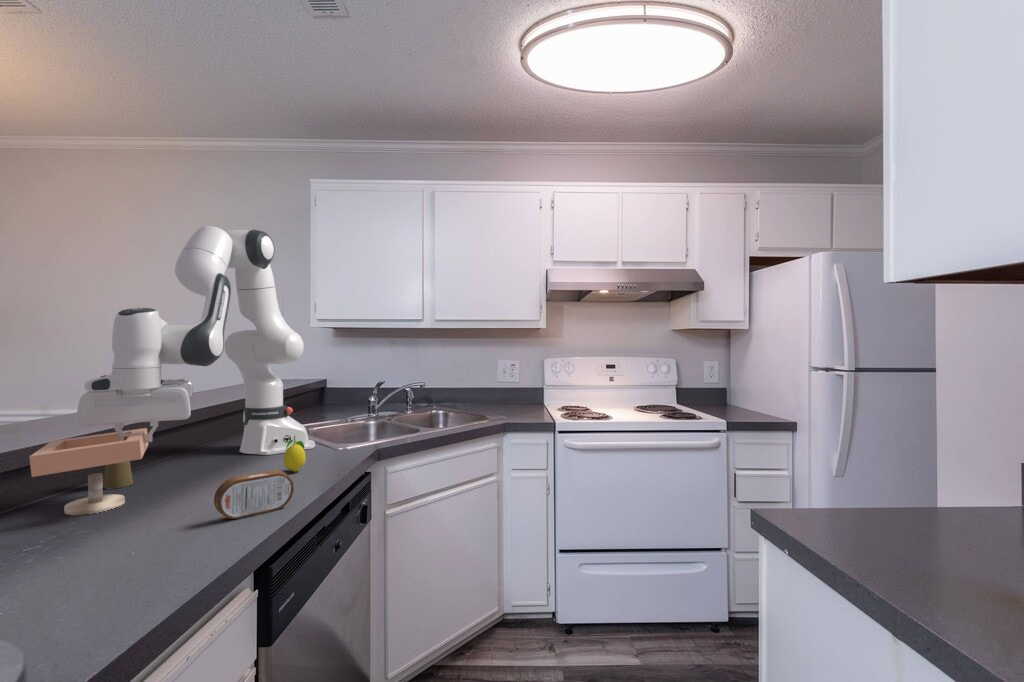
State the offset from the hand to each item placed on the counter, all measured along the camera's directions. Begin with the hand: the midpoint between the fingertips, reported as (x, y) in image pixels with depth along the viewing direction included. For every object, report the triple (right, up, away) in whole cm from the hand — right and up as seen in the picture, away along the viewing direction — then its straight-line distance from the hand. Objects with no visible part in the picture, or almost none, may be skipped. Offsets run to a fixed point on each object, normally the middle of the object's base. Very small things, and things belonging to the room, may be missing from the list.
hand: (136, 442), depth 111 cm
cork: (-13, -13, +12) cm, 22 cm away
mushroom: (-6, -13, -4) cm, 15 cm away
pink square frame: (-6, -3, -4) cm, 8 cm away
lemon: (+24, -13, +25) cm, 37 cm away
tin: (+30, -14, -7) cm, 34 cm away
